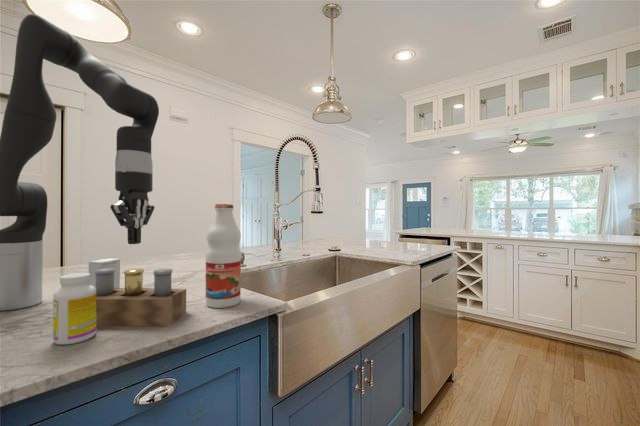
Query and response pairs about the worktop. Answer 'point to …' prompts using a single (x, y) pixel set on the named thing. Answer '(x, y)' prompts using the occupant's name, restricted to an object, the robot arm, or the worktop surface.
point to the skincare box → (102, 265)
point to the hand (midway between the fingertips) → (134, 243)
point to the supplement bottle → (74, 309)
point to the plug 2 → (162, 282)
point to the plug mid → (133, 282)
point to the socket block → (140, 308)
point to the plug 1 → (104, 281)
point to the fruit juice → (223, 260)
